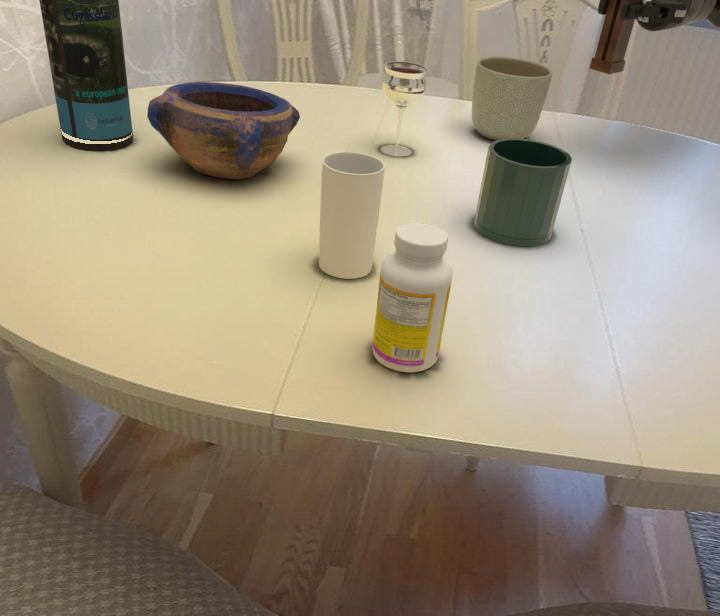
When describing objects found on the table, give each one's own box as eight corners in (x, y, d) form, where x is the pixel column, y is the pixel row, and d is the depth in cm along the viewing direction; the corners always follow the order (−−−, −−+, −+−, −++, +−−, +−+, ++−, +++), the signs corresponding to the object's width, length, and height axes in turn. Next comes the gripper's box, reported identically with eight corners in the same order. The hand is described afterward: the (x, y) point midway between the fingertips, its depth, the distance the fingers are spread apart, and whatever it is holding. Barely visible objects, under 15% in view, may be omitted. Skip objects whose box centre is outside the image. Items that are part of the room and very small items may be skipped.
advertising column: (93, 121, 117) (60, -124, 97) (153, 138, 114) (131, -112, 94) (41, 140, 110) (-8, -123, 90) (103, 158, 106) (67, -109, 86)
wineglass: (366, 147, 120) (373, 63, 112) (396, 140, 124) (406, 59, 116) (395, 161, 116) (405, 76, 108) (426, 154, 120) (438, 71, 112)
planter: (520, 154, 124) (536, 82, 117) (453, 135, 128) (464, 64, 121) (546, 136, 132) (563, 68, 125) (483, 119, 137) (495, 52, 129)
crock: (542, 216, 105) (561, 142, 99) (558, 249, 98) (580, 171, 91) (468, 210, 105) (483, 135, 98) (479, 243, 97) (496, 164, 90)
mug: (360, 286, 85) (370, 179, 77) (306, 271, 87) (311, 164, 79) (392, 252, 92) (404, 152, 84) (342, 239, 94) (349, 139, 86)
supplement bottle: (406, 332, 79) (424, 212, 70) (450, 362, 75) (475, 239, 67) (357, 350, 75) (369, 226, 67) (401, 383, 72) (420, 256, 63)
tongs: (602, 65, 117) (634, -51, 107) (622, 71, 116) (656, -47, 106) (588, 68, 115) (619, -51, 105) (609, 74, 113) (642, -46, 103)
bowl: (313, 164, 112) (317, 91, 106) (251, 203, 100) (250, 123, 93) (210, 137, 117) (208, 66, 110) (138, 171, 104) (130, 93, 98)
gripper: (638, -36, 119) (578, -32, 109) (721, -19, 112) (665, -13, 102) (623, 19, 124) (564, 27, 114) (702, 38, 117) (647, 49, 107)
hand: (613, 8), depth 108 cm, fingers closed on tongs, 3 cm apart
